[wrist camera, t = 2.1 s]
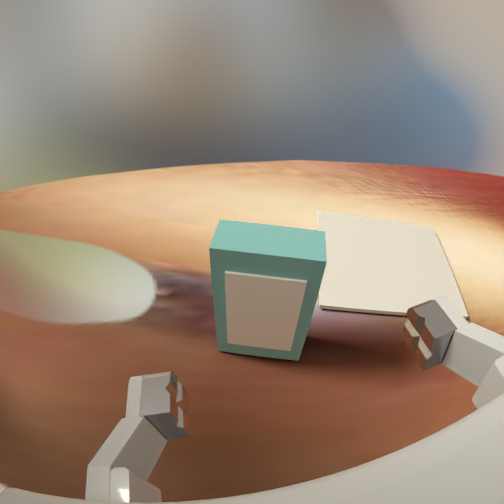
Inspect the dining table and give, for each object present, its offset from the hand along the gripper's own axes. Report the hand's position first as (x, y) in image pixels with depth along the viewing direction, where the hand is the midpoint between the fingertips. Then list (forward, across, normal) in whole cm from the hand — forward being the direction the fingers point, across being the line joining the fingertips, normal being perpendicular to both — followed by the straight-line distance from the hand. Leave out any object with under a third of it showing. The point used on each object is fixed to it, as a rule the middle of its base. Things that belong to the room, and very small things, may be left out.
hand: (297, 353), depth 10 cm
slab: (+10, +1, +10) cm, 14 cm away
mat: (+17, -13, +12) cm, 24 cm away
